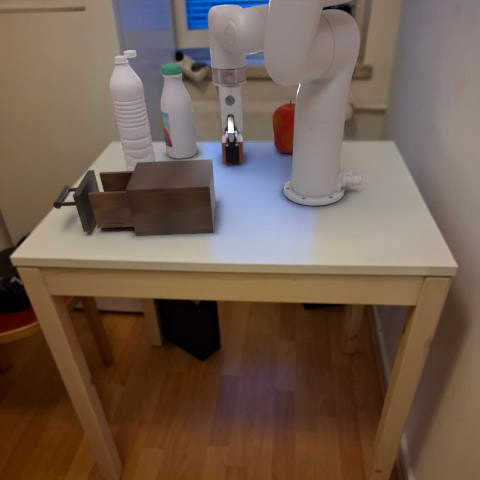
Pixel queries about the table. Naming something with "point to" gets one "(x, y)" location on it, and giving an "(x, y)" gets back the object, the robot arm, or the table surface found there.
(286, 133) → the apple
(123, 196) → the drawer
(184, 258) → the table surface
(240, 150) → the block
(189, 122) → the milk bottle
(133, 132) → the water bottle
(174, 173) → the cabinet
